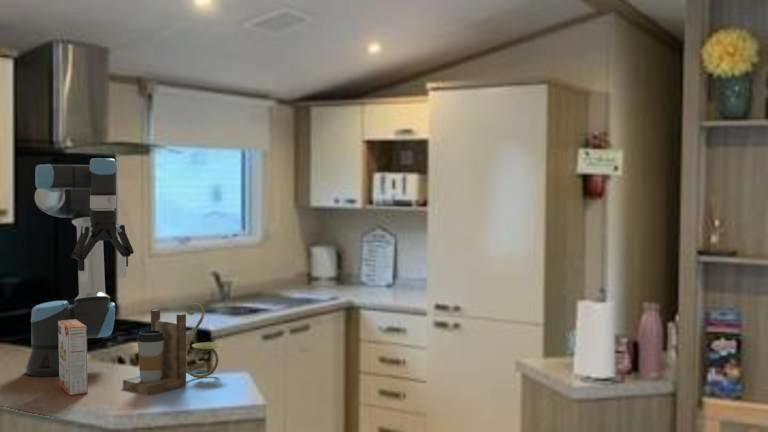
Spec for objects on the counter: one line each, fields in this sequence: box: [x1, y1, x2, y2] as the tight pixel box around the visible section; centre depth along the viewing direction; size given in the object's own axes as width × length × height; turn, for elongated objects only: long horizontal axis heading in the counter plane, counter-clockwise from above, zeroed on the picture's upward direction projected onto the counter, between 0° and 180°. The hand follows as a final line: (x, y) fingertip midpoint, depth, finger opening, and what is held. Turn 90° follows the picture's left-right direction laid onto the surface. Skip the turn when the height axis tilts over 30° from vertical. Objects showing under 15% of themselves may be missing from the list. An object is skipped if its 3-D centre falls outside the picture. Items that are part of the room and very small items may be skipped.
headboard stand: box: [122, 309, 187, 396], centre depth 262 cm, size 14×13×23 cm
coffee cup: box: [136, 329, 164, 382], centre depth 261 cm, size 8×8×15 cm
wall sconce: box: [186, 302, 222, 379], centre depth 275 cm, size 14×10×25 cm
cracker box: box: [58, 319, 89, 396], centre depth 258 cm, size 14×6×21 cm, turn 32°
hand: (103, 279), depth 253 cm, fingers open, 13 cm apart
